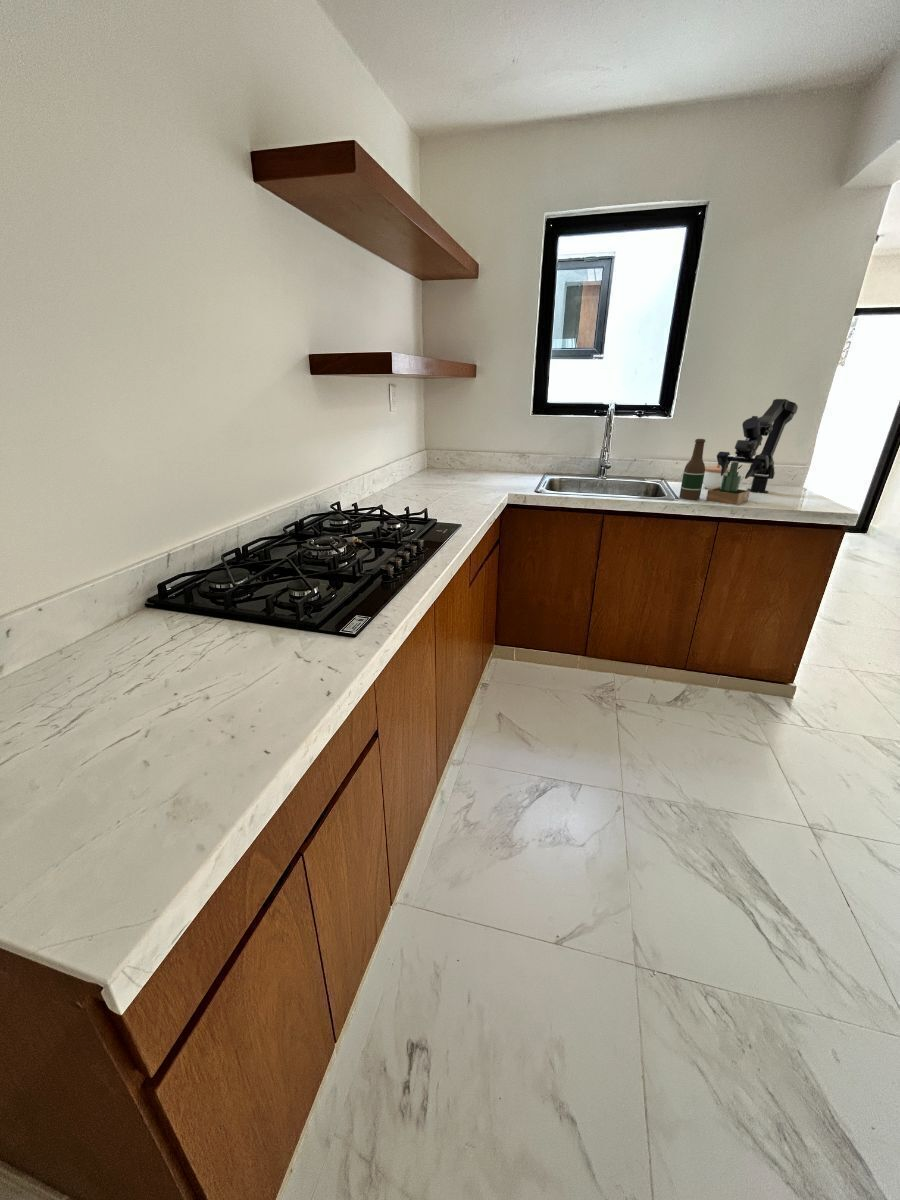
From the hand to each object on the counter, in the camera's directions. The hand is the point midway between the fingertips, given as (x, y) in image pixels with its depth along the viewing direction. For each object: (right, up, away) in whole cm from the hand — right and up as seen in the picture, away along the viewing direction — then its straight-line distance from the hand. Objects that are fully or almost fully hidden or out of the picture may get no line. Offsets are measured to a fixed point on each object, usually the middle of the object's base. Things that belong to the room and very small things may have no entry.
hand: (733, 476), depth 201 cm
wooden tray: (-1, -9, +3) cm, 10 cm away
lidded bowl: (+8, +2, +31) cm, 32 cm away
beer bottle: (-15, -8, +7) cm, 18 cm away
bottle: (-1, -9, +3) cm, 9 cm away
